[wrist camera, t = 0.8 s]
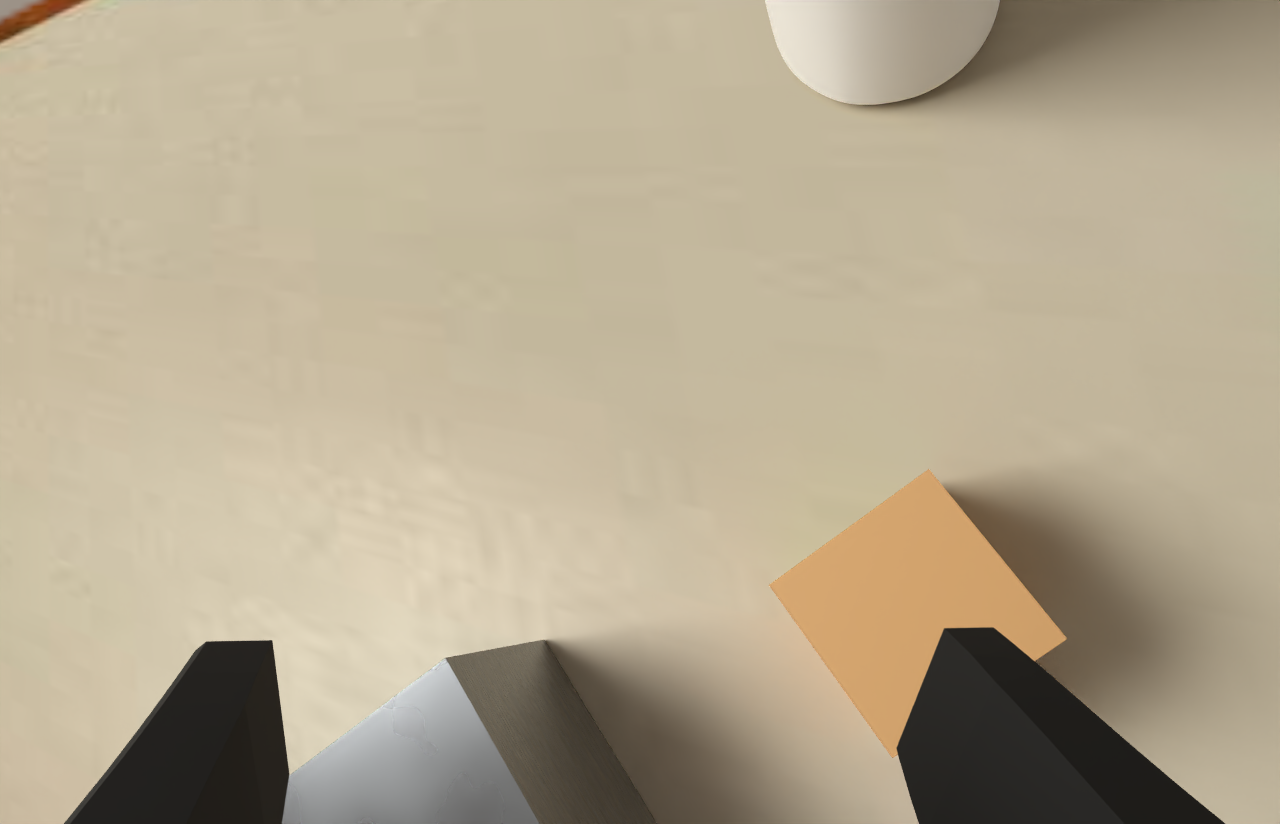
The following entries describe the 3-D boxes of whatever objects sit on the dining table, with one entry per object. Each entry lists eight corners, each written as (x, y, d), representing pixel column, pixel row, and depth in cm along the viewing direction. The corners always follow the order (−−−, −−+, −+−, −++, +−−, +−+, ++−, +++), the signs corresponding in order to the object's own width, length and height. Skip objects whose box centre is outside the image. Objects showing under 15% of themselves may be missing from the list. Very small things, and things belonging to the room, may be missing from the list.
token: (1039, 627, 23) (1067, 638, 19) (893, 727, 23) (892, 757, 19) (924, 485, 24) (929, 469, 20) (789, 583, 25) (768, 585, 21)
